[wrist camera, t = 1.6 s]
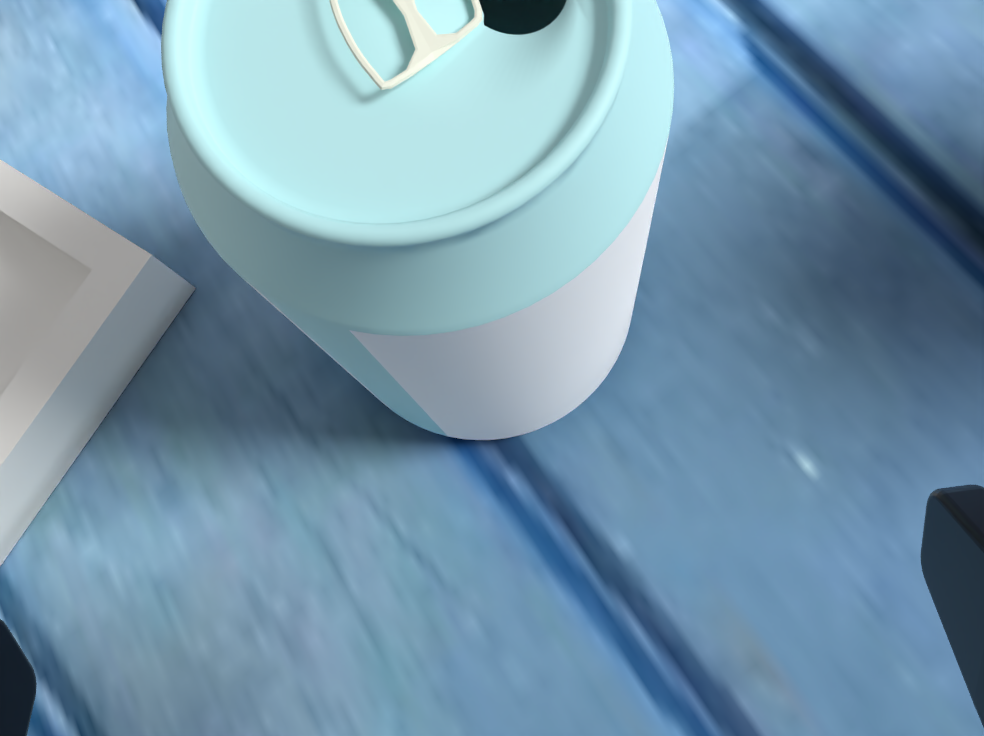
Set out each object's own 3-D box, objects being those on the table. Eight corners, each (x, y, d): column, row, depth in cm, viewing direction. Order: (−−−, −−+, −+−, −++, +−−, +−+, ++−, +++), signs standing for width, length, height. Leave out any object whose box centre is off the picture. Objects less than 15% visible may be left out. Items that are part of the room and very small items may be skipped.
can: (426, 125, 24) (282, -302, 12) (679, 235, 23) (786, -125, 11) (294, 366, 23) (-1, 148, 11) (552, 495, 22) (522, 400, 10)
